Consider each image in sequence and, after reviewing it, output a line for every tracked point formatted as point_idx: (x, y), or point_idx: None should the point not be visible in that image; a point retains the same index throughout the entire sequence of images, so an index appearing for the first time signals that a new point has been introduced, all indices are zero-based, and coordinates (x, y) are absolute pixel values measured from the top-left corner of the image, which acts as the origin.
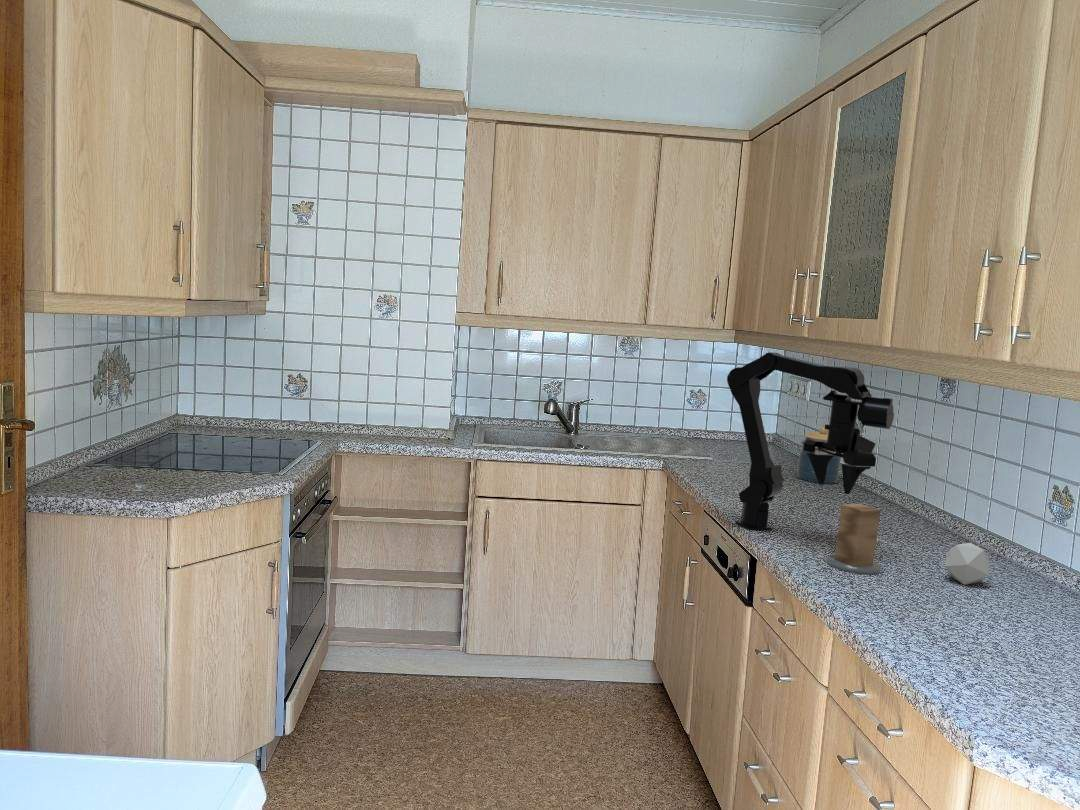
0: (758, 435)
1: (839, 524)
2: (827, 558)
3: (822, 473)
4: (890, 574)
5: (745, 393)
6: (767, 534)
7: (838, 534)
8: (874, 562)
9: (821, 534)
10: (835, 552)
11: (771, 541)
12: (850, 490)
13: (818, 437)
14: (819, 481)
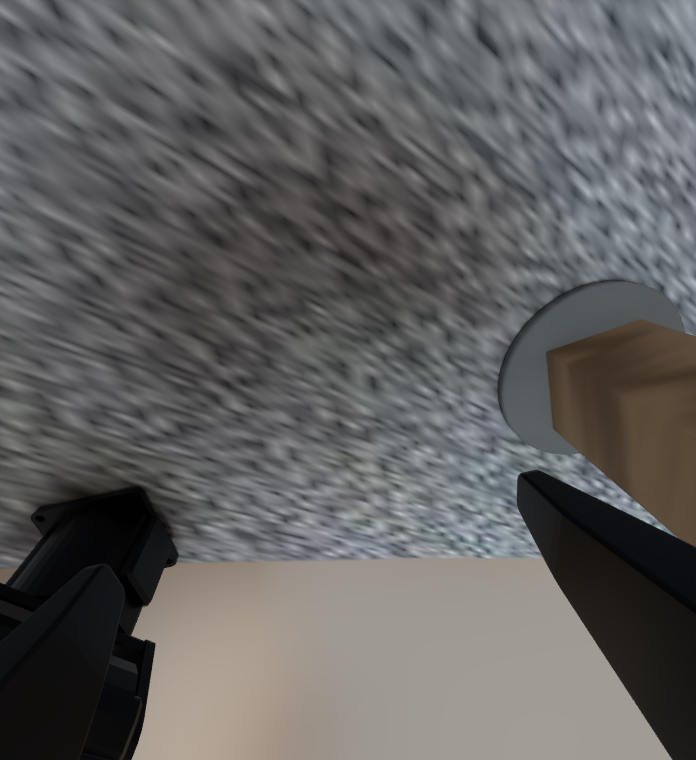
0: None
1: (663, 522)
2: (541, 447)
3: (28, 744)
4: (690, 271)
5: None
6: (219, 515)
7: (625, 487)
8: (609, 287)
9: (121, 281)
10: (569, 442)
11: (313, 527)
12: (571, 494)
13: None
14: (114, 635)
